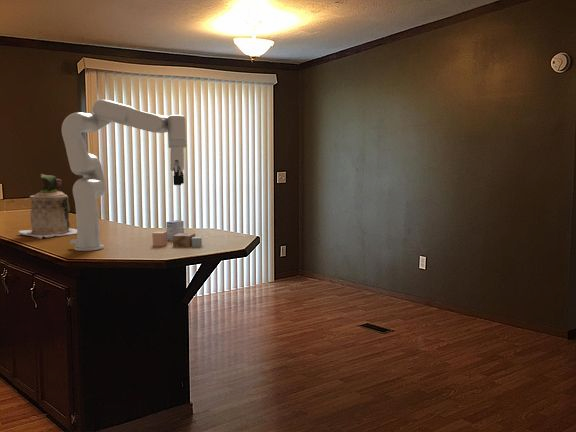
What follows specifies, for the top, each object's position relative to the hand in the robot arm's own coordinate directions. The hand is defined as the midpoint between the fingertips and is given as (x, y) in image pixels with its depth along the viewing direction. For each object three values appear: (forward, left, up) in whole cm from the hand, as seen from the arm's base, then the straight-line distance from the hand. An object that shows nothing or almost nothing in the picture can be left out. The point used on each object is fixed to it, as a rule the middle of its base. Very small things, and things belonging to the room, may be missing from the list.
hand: (178, 184), depth 248 cm
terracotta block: (-14, +11, -29) cm, 34 cm away
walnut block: (-3, +13, -29) cm, 32 cm away
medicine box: (-14, +30, -29) cm, 44 cm away
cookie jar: (-87, +38, -29) cm, 99 cm away
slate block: (+4, +10, -29) cm, 31 cm away
